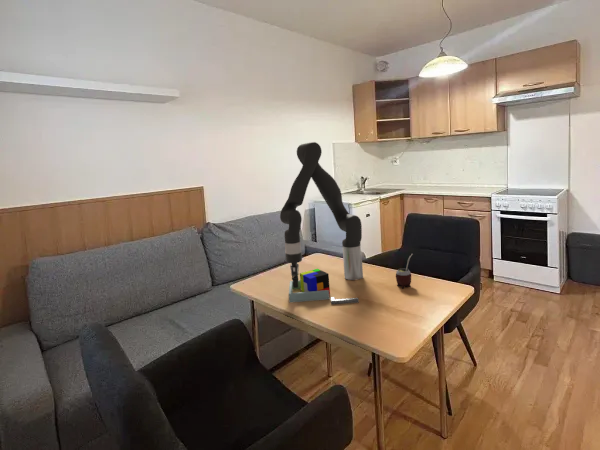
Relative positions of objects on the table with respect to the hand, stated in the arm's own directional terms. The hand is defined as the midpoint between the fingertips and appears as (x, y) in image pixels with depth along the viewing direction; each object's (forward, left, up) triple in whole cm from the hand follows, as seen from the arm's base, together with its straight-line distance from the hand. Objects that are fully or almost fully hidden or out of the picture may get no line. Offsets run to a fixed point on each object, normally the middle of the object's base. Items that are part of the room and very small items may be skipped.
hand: (296, 284), depth 181 cm
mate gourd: (-51, 0, -6) cm, 52 cm away
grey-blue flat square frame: (-6, 0, -5) cm, 8 cm away
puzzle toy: (-9, 0, -6) cm, 10 cm away
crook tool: (-21, +13, -5) cm, 25 cm away
